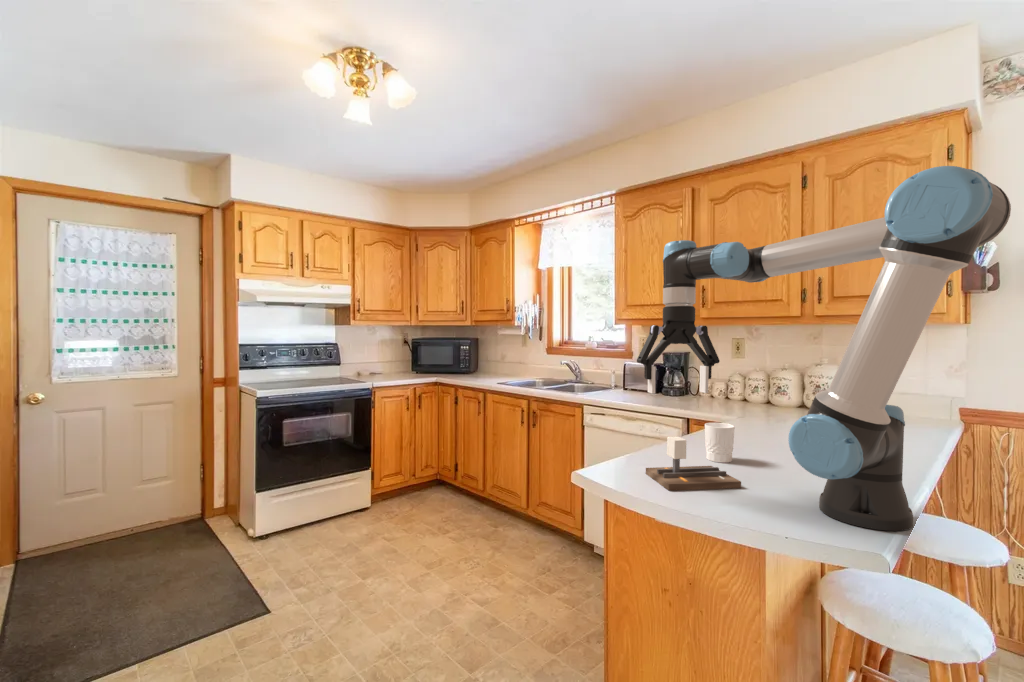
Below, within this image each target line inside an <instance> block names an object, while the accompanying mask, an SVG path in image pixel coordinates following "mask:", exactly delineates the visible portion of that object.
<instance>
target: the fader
mask: <svg viewBox="0 0 1024 682" xmlns="http://www.w3.org/2000/svg"><path fill="white" fill-rule="evenodd" d="M666 455H667V456H668V457H670V458H672V467H673V473H674V472H680V467H681V463H680V462H681V461H680V460H686V459H687V439H685V438H683V437H680V436H667V438H666Z"/></svg>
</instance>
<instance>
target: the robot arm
mask: <svg viewBox="0 0 1024 682" xmlns="http://www.w3.org/2000/svg"><path fill="white" fill-rule="evenodd" d="M1011 204H1012V203H1010V199H1009V197H1008V195H1007V194H1006V193H1005V191H1004V190H1003V189H1002V188H1001V187H999V186H998V185H996V184H994V183H993V182H991V181H989V179H988V178H987V177H986V176H984V175H983V174H982V173H981V172H979V171H975V170H974V169H970V168H965V167H962V166H955V165H941V166H935V167H931V168H927V169H924V170H921V171H919V172H917V173H915V174H913V175H911V176H910V177H908V178H907V179H905V180H904V181H903V182H901V183H900V184H899V185H898V186H897V187H896V188H895V189H893V192H891V194H890V195H889V197H888V199H887V200H886V203H885V208H884V217H883V216H882V217H880V218H876V219H872V220H871V219H870V220H867V221H862V222H858V223H856V224H850V225H846V226H842V227H838V228H833V229H828V230H825V231H821V232H817V233H812V234H808V235H804V236H799V237H795V238H792V239H787V240H783V241H779V242H775V243H774V242H773V243H771V244H767V245H762V246H758V247H754V248H747V247H746V246H744V244H743V243H742V242H740V241H731V242H727V241H725V242H721V243H717V244H716V243H715V244H711V245H710V244H709V245H705V246H699V247H697V243H696V242H695V241H693V240H687V239H686V240H685V239H682V240H674V241H672V240H671V241H669V242H667V243H665V245H664V248H663V259H662V268H663V269H662V270H663V271H662V272H663V285H662V304H663V305H665V306H663V308H662V326H659V325H656V324H655V325H654V324H653V325H650V327H649V333H648V336H647V337H646V340H645V342H644V343H643V346H642V348H641V350H640V352H639V354H638V357H637V359H636V362H637V363H638V364H641V365H643V367H644V371H643V372H644V374H643V376H644V380H647V393H649V394H653V395H655V394H656V369H657V367H656V366H654V365H653V364H654V363H655V362H657V359H659V358H660V356H661V355H662V354H663V353H664V351H665V350H666V349H667V348H668V347H669V346H670V345H679V344H680V345H687V346H688V347H689V348H690V349H691V350H692V352H693V353H694V354H695V355H696V357H697V358H698V360H700V363H701V364H703V365H699V392H700V393H704V394H709V380H711V379H712V369H713V368H712V367H714V366H715V364H719V363H720V362H721V361H720V358H719V356H718V354H717V352H716V349H715V347H714V345H713V343H712V340H711V338H710V336H709V331H708V326H707V325H698V326H696V324H695V321H696V307H695V306H694V305H695V304H696V302H697V301H696V296H697V295H696V294H697V293H696V292H697V291H696V287H697V281H699V280H710V279H723V280H730V281H731V280H732V281H739V282H745V283H760V282H764V281H767V280H768V279H769V278H773V277H778V276H784V275H791V274H797V273H801V272H807V271H814V270H819V269H823V268H825V269H826V268H831V267H836V266H840V265H841V266H842V265H846V264H853V263H859V262H862V261H863V262H864V261H870V260H875V259H881V258H882V259H883V258H884V263H883V265H882V266H881V269H880V272H879V274H878V277H877V278H876V281H875V283H874V286H873V288H872V290H871V292H870V293H869V294H870V295H869V296H868V299H867V301H866V304H865V306H864V308H863V311H862V313H861V315H860V317H859V319H858V321H857V324H856V326H855V329H854V331H853V334H852V336H851V338H850V340H849V342H848V345H847V347H846V348H845V349H846V350H845V351H844V353H843V356H842V358H841V360H840V363H839V365H838V367H837V370H836V372H835V374H834V376H833V379H832V381H831V382H830V385H829V388H827V389H825V390H822V391H821V390H820V391H818V392H816V394H815V395H814V398H813V400H812V402H811V404H810V407H809V409H808V410H807V413H806V415H803V416H801V417H799V418H798V419H797V420H796V421H795V422H794V423H792V425H791V428H790V429H789V432H788V439H787V440H788V445H789V450H790V451H791V453H792V455H793V458H794V459H795V461H796V462H797V463H798V464H799V466H800V467H801V468H803V469H804V470H805V471H806V472H809V474H811V475H813V476H816V477H818V478H822V479H826V482H825V484H824V487H823V492H821V493H820V495H819V501H818V503H819V505H818V508H819V510H820V511H821V512H822V514H825V515H826V516H828V517H830V518H832V519H834V520H836V521H840V522H843V523H845V524H849V525H852V526H857V527H862V528H866V529H871V530H878V531H889V532H891V531H892V532H896V531H897V532H898V531H900V532H901V531H907V530H910V529H912V528H913V527H914V514H913V510H912V509H911V508H910V507H909V502H908V501H909V499H908V497H907V493H906V490H905V488H904V486H903V466H904V465H903V463H904V441H905V440H904V439H905V438H904V435H905V426H906V421H905V415H904V414H905V413H904V411H903V409H902V408H901V407H900V406H898V405H893V404H888V403H889V400H890V399H891V396H892V395H893V392H894V391H895V389H896V386H897V384H898V382H899V379H900V378H901V375H902V373H903V371H904V369H905V367H906V366H907V363H908V361H909V359H910V357H911V355H912V353H913V351H914V350H915V347H916V345H917V343H918V341H919V339H920V338H921V337H920V336H921V334H922V333H923V330H924V329H925V327H926V324H927V322H928V320H929V318H930V316H931V314H932V312H933V310H934V307H935V306H936V305H937V302H938V299H939V298H940V296H941V293H942V292H943V290H944V288H945V285H946V283H947V281H948V279H949V277H950V275H951V274H953V273H954V272H956V271H959V270H962V269H964V268H966V267H968V266H969V264H970V262H971V260H972V259H973V256H974V254H975V252H976V250H977V249H978V248H979V247H982V246H984V245H985V244H987V243H990V242H991V241H993V239H995V238H996V237H998V236H999V235H1000V233H1001V232H1003V230H1004V229H1005V227H1006V226H1007V224H1008V223H1009V222H1008V221H1009V219H1010V217H1011V210H1012V205H1011ZM661 333H662V335H663V337H662V338H661V339H660V341H659V343H658V344H657V346H656V347H654V345H655V343H656V341H657V339H658V336H659V335H661ZM695 333H696V335H697V336H698V338H699V341H700V342H701V344H702V347H703V348H702V347H701V345H700V344H699V343H698V341H697V339H696V338H695V336H694V335H695ZM653 348H654V349H653ZM652 349H653V350H652ZM703 349H704V350H703Z"/></svg>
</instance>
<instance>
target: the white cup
mask: <svg viewBox="0 0 1024 682" xmlns="http://www.w3.org/2000/svg"><path fill="white" fill-rule="evenodd" d="M735 428H736V427H735V425H733V424H729V423H725V422H724V423H723V422H706V423H704V442H705V443H704V444H705V457H706V460H707V461H710V462H714V463H722V464H726V463H731V462H732V461H733V451H734V444H735V443H734V442H735Z"/></svg>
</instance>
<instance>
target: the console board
mask: <svg viewBox="0 0 1024 682" xmlns="http://www.w3.org/2000/svg"><path fill="white" fill-rule="evenodd" d="M645 474H646V475H647V476H648V477H649V478H651V479H652V480H654V482H656V483H657V484H659V485H660V486H661V487H663V488H664V489H666V490H667V491H669V492H671V491H694V490H698V491H699V490H722V489H741V488H742V481H741V480H739V479H738V478H735V477H733V476H731V475H730V474H728V473H727V471H726V470H720V468H719V467H718V466H715V467H714V466H713V465H699V466H698V465H693V466H691V465H690V466H689V465H688V466H680V472H674V473H673V466H661V467H645Z"/></svg>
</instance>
